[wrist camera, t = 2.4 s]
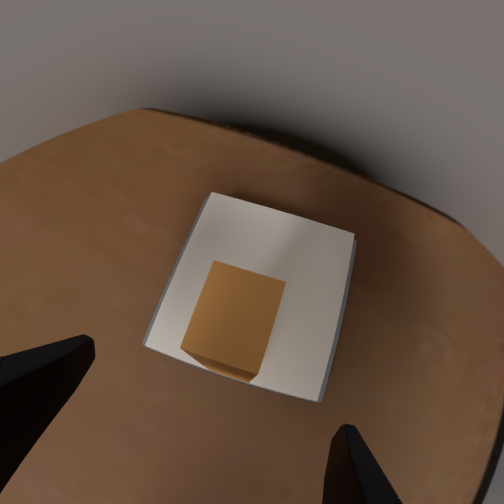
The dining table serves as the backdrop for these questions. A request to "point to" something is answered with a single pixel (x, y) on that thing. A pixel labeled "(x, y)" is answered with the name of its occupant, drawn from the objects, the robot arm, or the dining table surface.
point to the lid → (256, 297)
